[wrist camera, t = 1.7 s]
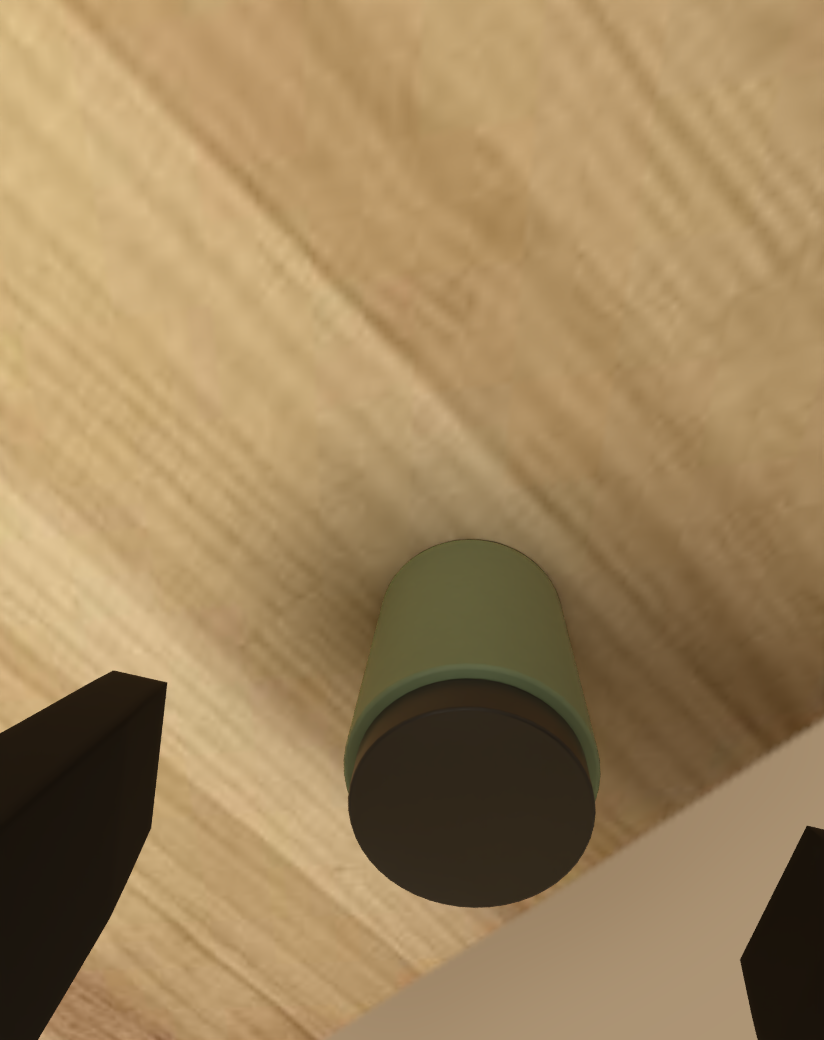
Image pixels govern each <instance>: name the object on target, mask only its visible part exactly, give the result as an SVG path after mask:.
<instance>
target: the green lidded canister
mask: <svg viewBox="0 0 824 1040" xmlns="http://www.w3.org/2000/svg"><path fill="white" fill-rule="evenodd" d="M344 776H345V782H346V787H347V790H348V793H349V795H348V811H349V816H350V822H351V825H352V828H353V831H354V834H355V837H356V839H357V841H358V843H359V845H360V847H361V849H362V850H363V852H364V853H365V855H366V856H367V857H368V859H369V860H370V861H371V862H372V863H373V865H374V866H375V867H376V868H377V869H378V870H379V871H380V872H381V873H382V874H384V875H385V876H386V877H387V878H388V879H390V880H391V881H392V882H394V883H395V884H397V885H398V886H400V887H401V888H403V889H405V890H407V891H409V892H411V893H413V894H415V895H417V896H420V897H422V898H425V899H428V900H431V901H434V902H438V903H441V904H446V905H452V906H458V907H472V908H478V907H494V906H501V905H507V904H511V903H515V902H519V901H521V900H524V899H527V898H530V897H532V896H535V895H537V894H539V893H541V892H543V891H545V890H546V889H548V888H549V887H551V886H552V885H554V884H555V883H557V882H558V881H559V880H561V879H562V878H563V877H564V876H565V875H566V874H568V872H569V871H570V870H571V869H572V868H573V867H574V866H575V865H576V863H577V862H578V861H579V859H580V858H581V856H582V855H583V853H584V851H585V849H586V847H587V845H588V843H589V841H590V838H591V834H592V831H593V827H594V821H595V813H596V812H595V800H596V797H597V793H598V789H599V782H600V760H599V755H598V750H597V746H596V742H595V738H594V734H593V730H592V726H591V722H590V718H589V714H588V710H587V706H586V702H585V698H584V695H583V691H582V687H581V683H580V679H579V675H578V671H577V667H576V663H575V659H574V655H573V651H572V647H571V643H570V639H569V636H568V632H567V628H566V624H565V620H564V616H563V612H562V608H561V604H560V601H559V598H558V595H557V593H556V590H555V588H554V587H553V585H552V583H551V581H550V580H549V578H548V577H547V576H546V574H545V573H544V572H543V571H542V570H541V569H540V568H539V567H538V566H537V565H536V564H535V563H534V562H533V561H531V560H530V559H529V558H528V557H526V556H525V555H523V554H521V553H520V552H518V551H516V550H514V549H512V548H509V547H507V546H505V545H501V544H498V543H494V542H489V541H483V540H457V541H452V542H447V543H443V544H440V545H437V546H434V547H431V548H429V549H427V550H425V551H423V552H421V553H420V554H418V555H417V556H415V557H414V558H412V559H411V560H410V561H409V562H408V563H406V564H405V565H404V566H403V567H402V568H401V569H400V571H399V572H398V573H397V574H396V575H395V577H394V578H393V580H392V581H391V583H390V584H389V587H388V589H387V591H386V593H385V596H384V599H383V603H382V606H381V610H380V614H379V618H378V622H377V626H376V630H375V634H374V637H373V641H372V645H371V649H370V653H369V657H368V661H367V665H366V669H365V673H364V677H363V680H362V684H361V688H360V692H359V696H358V700H357V704H356V708H355V712H354V716H353V719H352V723H351V727H350V731H349V735H348V739H347V743H346V747H345V755H344Z"/></svg>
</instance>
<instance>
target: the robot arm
mask: <svg viewBox="0 0 824 1040" xmlns="http://www.w3.org/2000/svg"><path fill="white" fill-rule="evenodd" d="M166 689H167V682H163V681H158V680H154V679H149V678H145V677H140V676H136V675H131V674H127V673H122V672H118V671H111V672H110V673H108V674H106V675H104V676H102V677H100V678H98V679H96V680H94V681H93V682H91V683H89V684H87V685H85V686H84V687H82V688H80V689H78V690H77V691H75V692H73V693H71V694H69V695H68V696H66V697H64V698H62V699H61V700H59V701H57V702H55V703H54V704H52V705H50V706H48V707H47V708H45V709H43V710H41V711H39V712H38V713H36V714H34V715H32V716H31V717H29V718H27V719H25V720H23V721H22V722H20V723H18V724H16V725H14V726H13V727H11V728H9V729H7V730H5V731H4V732H2V733H0V1040H38V1039H39V1037H40V1035H41V1034H42V1032H43V1030H44V1029H45V1027H46V1025H47V1024H48V1022H49V1020H50V1019H51V1017H52V1015H53V1014H54V1012H55V1010H56V1009H57V1007H58V1005H59V1004H60V1002H61V1000H62V999H63V997H64V995H65V993H66V992H67V990H68V988H69V987H70V985H71V983H72V982H73V980H74V978H75V977H76V975H77V973H78V971H79V970H80V968H81V966H82V965H83V963H84V961H85V960H86V958H87V956H88V955H89V953H90V951H91V949H92V948H93V946H94V944H95V943H96V941H97V939H98V938H99V936H100V934H101V932H102V931H103V929H104V927H105V925H106V924H107V922H108V920H109V919H110V917H111V915H112V912H113V910H114V908H115V906H116V904H117V902H118V900H119V898H120V895H121V893H122V891H123V889H124V887H125V885H126V883H127V880H128V878H129V876H130V874H131V872H132V869H133V867H134V865H135V863H136V861H137V858H138V856H139V854H140V852H141V849H142V847H143V845H144V843H145V840H146V838H147V836H148V834H149V831H150V829H151V824H152V815H153V806H154V797H155V788H156V779H157V770H158V761H159V752H160V743H161V734H162V725H163V716H164V707H165V698H166ZM740 961H741V966H742V971H743V976H744V981H745V985H746V990H747V995H748V999H749V1005H750V1009H751V1014H752V1018H753V1022H754V1026H755V1031H756V1035H757V1038H758V1040H824V830H823V829H819V828H815V827H810V826H807V827H806V829H805V831H804V833H803V835H802V837H801V839H800V841H799V843H798V845H797V847H796V849H795V851H794V853H793V855H792V857H791V859H790V861H789V863H788V865H787V867H786V869H785V871H784V873H783V875H782V877H781V879H780V881H779V883H778V885H777V887H776V889H775V891H774V893H773V895H772V897H771V899H770V901H769V903H768V905H767V907H766V909H765V911H764V913H763V915H762V917H761V919H760V921H759V923H758V925H757V927H756V929H755V931H754V933H753V935H752V937H751V939H750V941H749V943H748V945H747V947H746V949H745V951H744V953H743V955H742V957H741V959H740Z"/></svg>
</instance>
